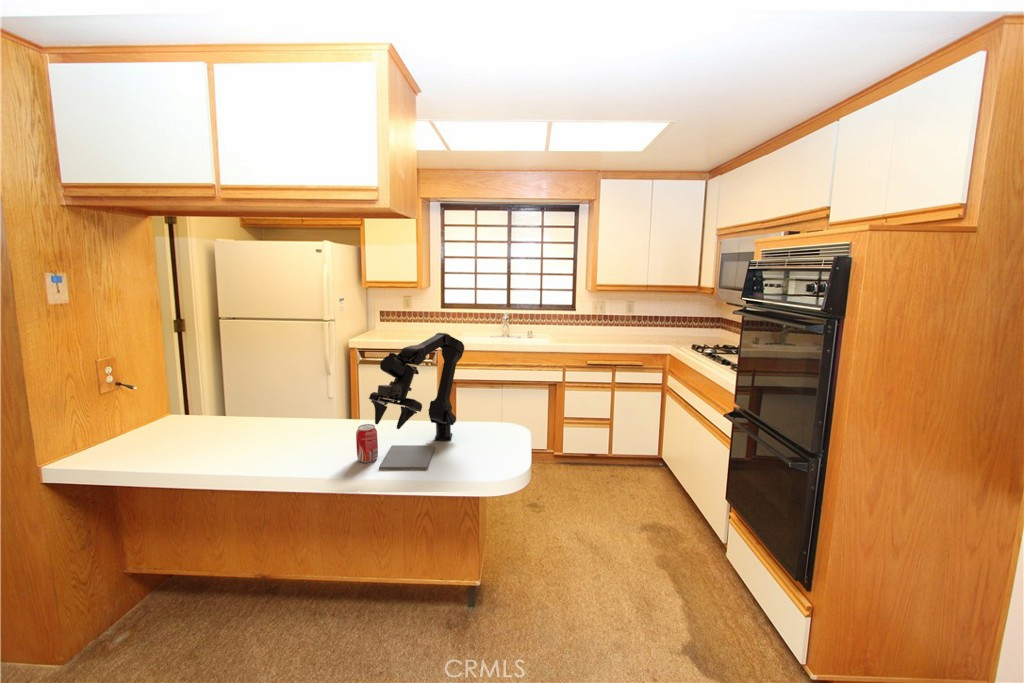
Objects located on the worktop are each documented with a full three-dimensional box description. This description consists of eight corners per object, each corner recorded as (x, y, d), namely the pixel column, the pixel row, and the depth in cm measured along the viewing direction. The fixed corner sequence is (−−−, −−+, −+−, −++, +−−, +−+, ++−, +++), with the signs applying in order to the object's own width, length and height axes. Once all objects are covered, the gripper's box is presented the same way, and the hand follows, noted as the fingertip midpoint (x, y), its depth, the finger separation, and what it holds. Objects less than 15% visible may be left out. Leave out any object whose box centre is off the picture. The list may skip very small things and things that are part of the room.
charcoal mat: (391, 447, 168) (391, 445, 168) (434, 447, 169) (434, 445, 168) (379, 469, 150) (378, 466, 150) (427, 469, 151) (427, 466, 151)
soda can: (360, 455, 161) (358, 423, 159) (380, 455, 162) (378, 423, 160) (354, 464, 154) (353, 430, 152) (375, 463, 155) (374, 430, 153)
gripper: (366, 370, 151) (349, 415, 146) (410, 377, 143) (394, 425, 138) (387, 381, 160) (371, 424, 155) (429, 388, 152) (414, 433, 147)
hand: (386, 426), depth 148 cm, fingers open, 9 cm apart
